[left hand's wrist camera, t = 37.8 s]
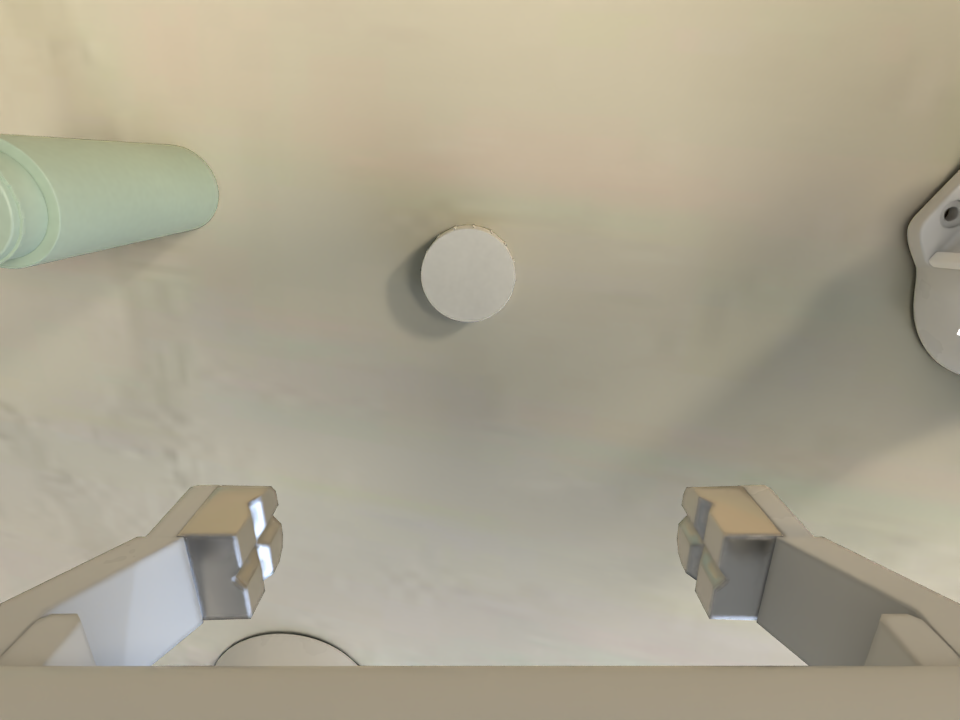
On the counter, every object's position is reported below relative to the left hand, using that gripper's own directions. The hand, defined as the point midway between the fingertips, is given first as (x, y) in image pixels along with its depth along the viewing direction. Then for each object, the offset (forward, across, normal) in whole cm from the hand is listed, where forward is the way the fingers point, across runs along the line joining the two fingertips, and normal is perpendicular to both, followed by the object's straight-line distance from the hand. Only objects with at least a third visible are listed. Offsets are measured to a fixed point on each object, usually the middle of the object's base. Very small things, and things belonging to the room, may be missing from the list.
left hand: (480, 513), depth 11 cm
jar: (+26, +19, -5) cm, 33 cm away
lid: (+25, +1, 0) cm, 25 cm away
